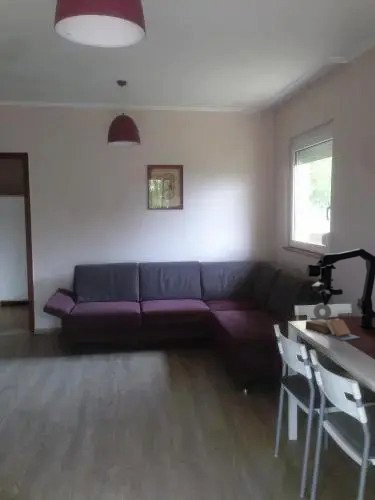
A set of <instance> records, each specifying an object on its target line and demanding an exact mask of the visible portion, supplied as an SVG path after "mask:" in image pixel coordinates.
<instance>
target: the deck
mask: <svg viewBox="0 0 375 500" xmlns="http://www.w3.org/2000/svg"><path fill="white" fill-rule="evenodd" d="M327 320H328V319H326V320H324V319H312V320H306V321H305V329H306V330H309V331H312V332H315V333H318V334H320V335H324V336H326V334H331V331H330V329H329V328H328V326H327V324H326V321H327Z"/></svg>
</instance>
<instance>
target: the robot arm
mask: <svg viewBox="0 0 375 500" xmlns="http://www.w3.org/2000/svg"><path fill="white" fill-rule="evenodd" d="M357 257H360V258H361V259H362V260H364V261H365V268H366V274H365V281H364V285H363V290H362V296H361V298H357V303H356V306H357V310H358V311H359V312H360V315H361V321H360V324H359V325H358V326H359V327H360V328H361V327H362V328H365V329H368V330H369V329H374V328H375V310H373V299H372V296H373V291H374V285H375V255H374V254H372V253H370V252H369V251H366V249H363V248H360V247H359V248H356V249H351V250H346V251H342V252H337V253H335V252H334V253H332V252H331V253H323V254H321V255H320V259H319V260H318V262H317V263H316V264H310V263H309V264H307V267H306V271H305V273H306V277H308V278H318V281H317V282H315V283H313V284H311V285H310V286H309V291H313V292H317V294H319V295H320V297H321V299H322V303H324V305H328V303H329V301H330V299H331V298H332V296H341V295H343V294H344V291H343V289H342V288H338V287H337V288H336V287H335V288H334V286H333V285H332V282H333V281H334V278H333V277H332V276H333V270H336V269H337V267H336V266H335V265H334V264H335V263H337V262H339V261H342V260H343V261H344V260H348V259H353V258H357ZM319 276H320V277H319Z"/></svg>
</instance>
